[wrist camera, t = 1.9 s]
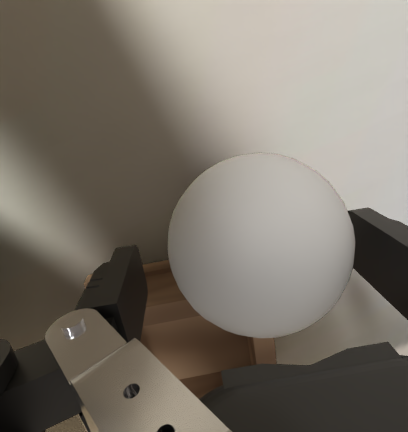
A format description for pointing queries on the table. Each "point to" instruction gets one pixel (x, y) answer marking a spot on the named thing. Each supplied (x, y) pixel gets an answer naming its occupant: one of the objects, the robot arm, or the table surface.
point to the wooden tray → (192, 336)
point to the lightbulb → (261, 245)
